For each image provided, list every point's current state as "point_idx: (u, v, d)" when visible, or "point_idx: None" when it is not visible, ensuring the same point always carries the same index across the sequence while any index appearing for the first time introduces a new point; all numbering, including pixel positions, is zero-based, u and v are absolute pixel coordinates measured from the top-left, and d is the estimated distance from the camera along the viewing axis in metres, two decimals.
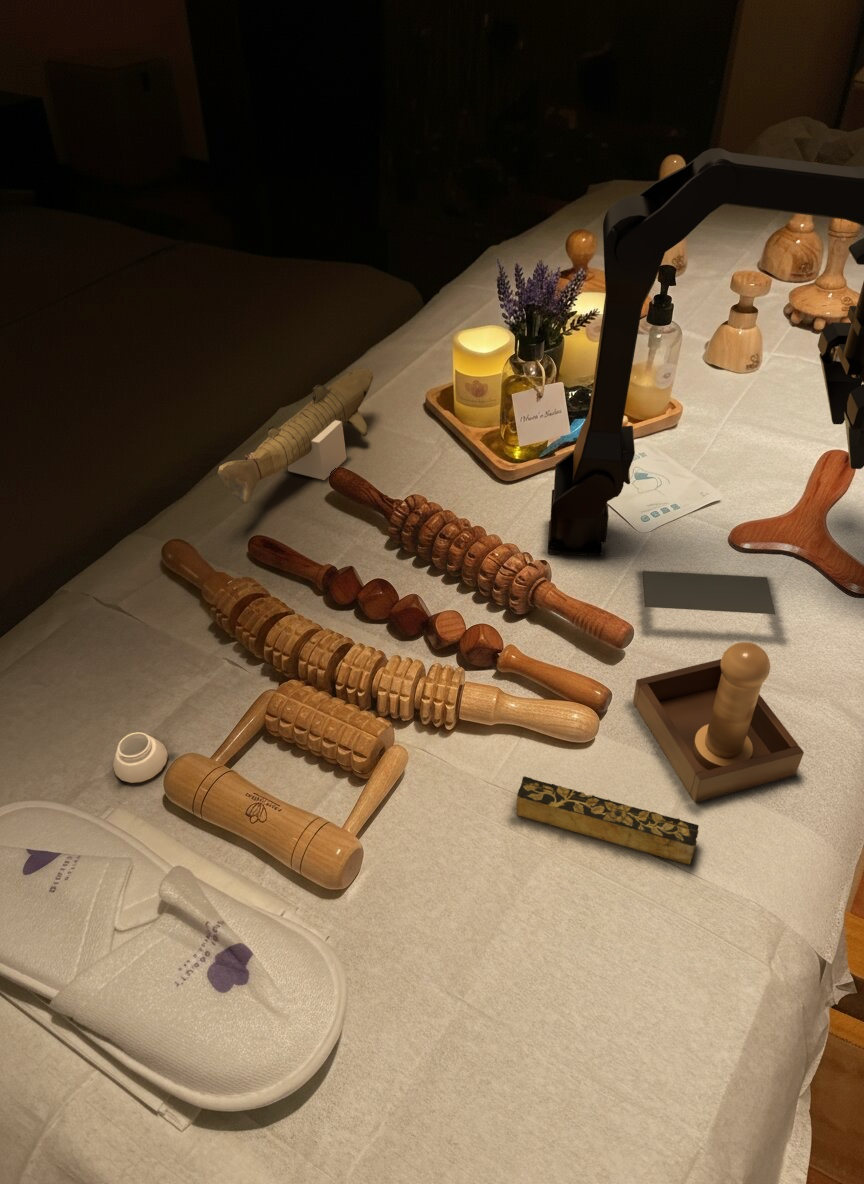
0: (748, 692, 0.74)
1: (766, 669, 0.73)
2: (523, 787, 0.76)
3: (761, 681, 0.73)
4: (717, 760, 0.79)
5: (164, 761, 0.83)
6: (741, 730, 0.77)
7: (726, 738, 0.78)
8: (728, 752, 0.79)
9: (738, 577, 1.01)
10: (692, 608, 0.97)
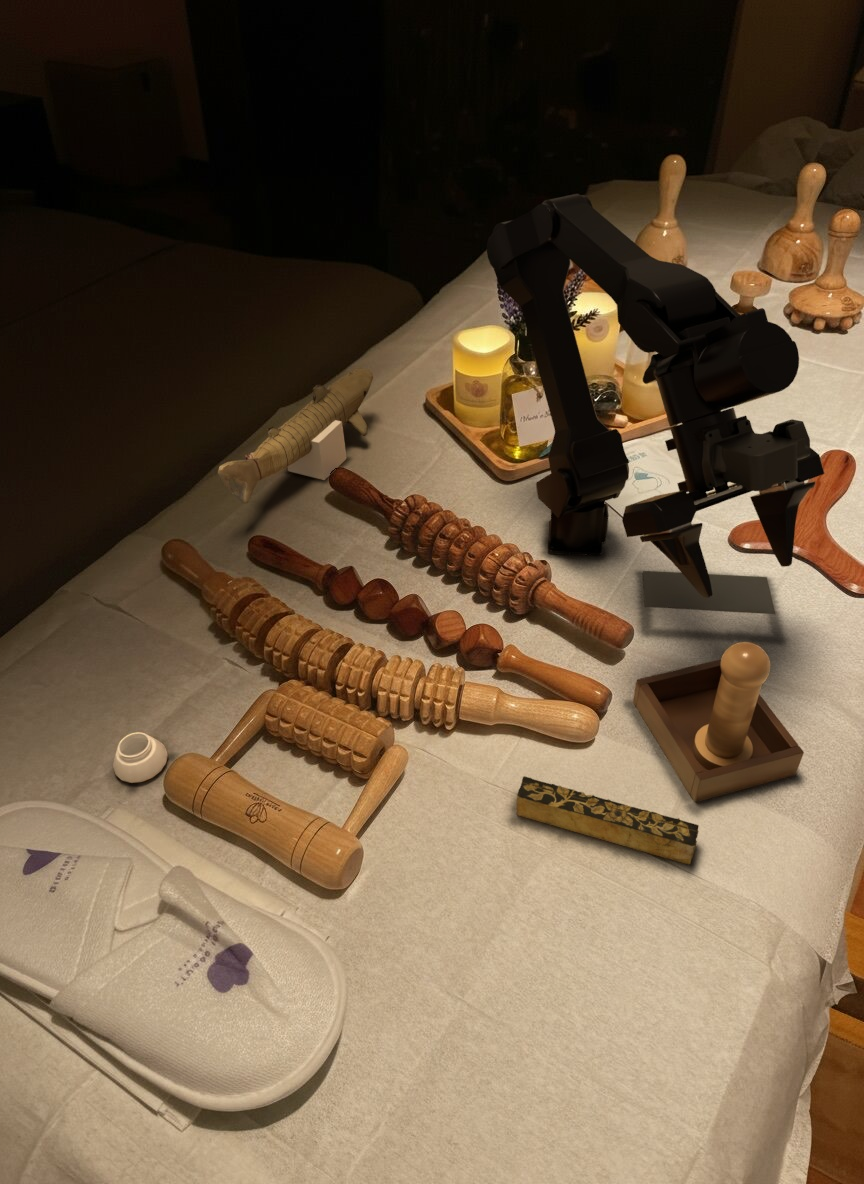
0: (748, 692, 0.74)
1: (766, 669, 0.73)
2: (523, 787, 0.76)
3: (761, 681, 0.73)
4: (717, 760, 0.79)
5: (164, 761, 0.83)
6: (741, 730, 0.77)
7: (726, 738, 0.78)
8: (728, 752, 0.79)
9: (738, 577, 1.01)
10: (692, 608, 0.97)
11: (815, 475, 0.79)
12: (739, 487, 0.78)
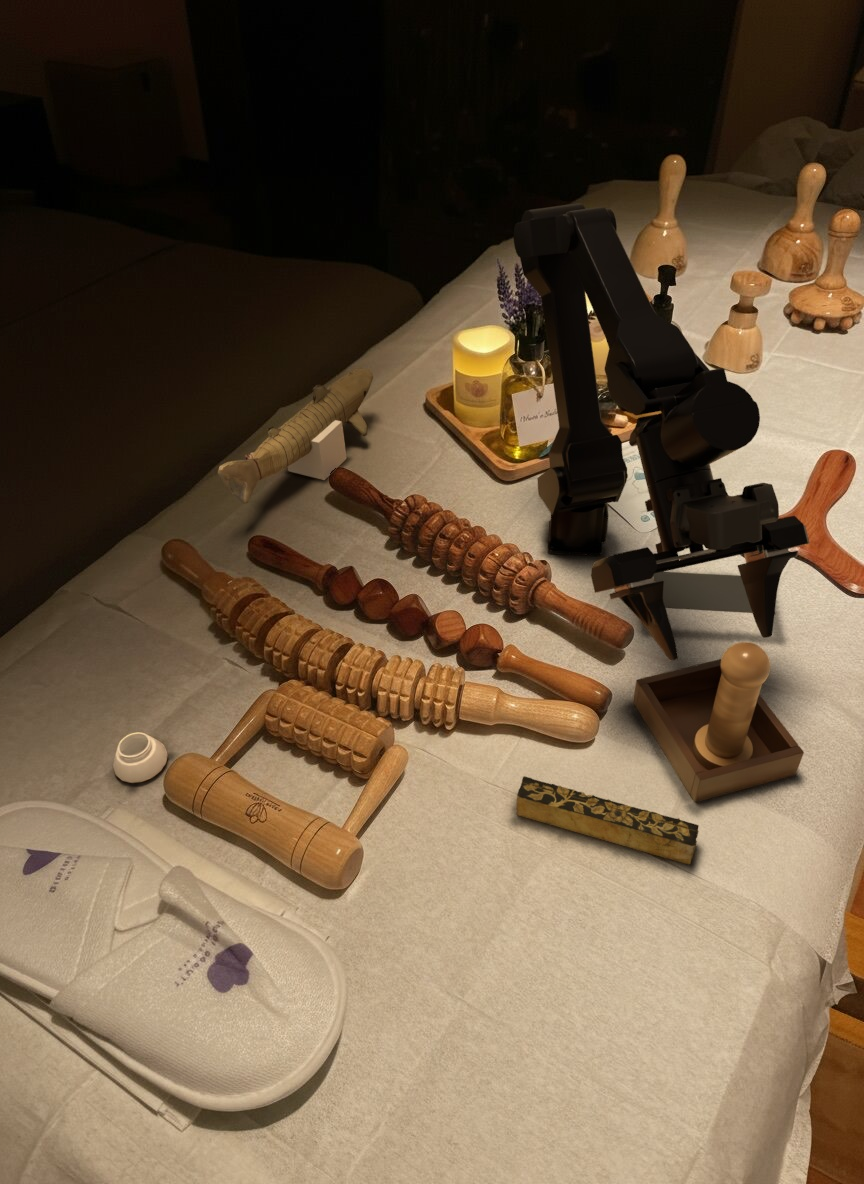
0: (748, 692, 0.74)
1: (766, 669, 0.73)
2: (523, 787, 0.76)
3: (761, 681, 0.73)
4: (717, 760, 0.79)
5: (164, 761, 0.83)
6: (741, 730, 0.77)
7: (726, 738, 0.78)
8: (728, 752, 0.79)
9: (738, 577, 1.01)
10: (692, 608, 0.97)
11: (797, 544, 0.76)
12: (712, 550, 0.76)
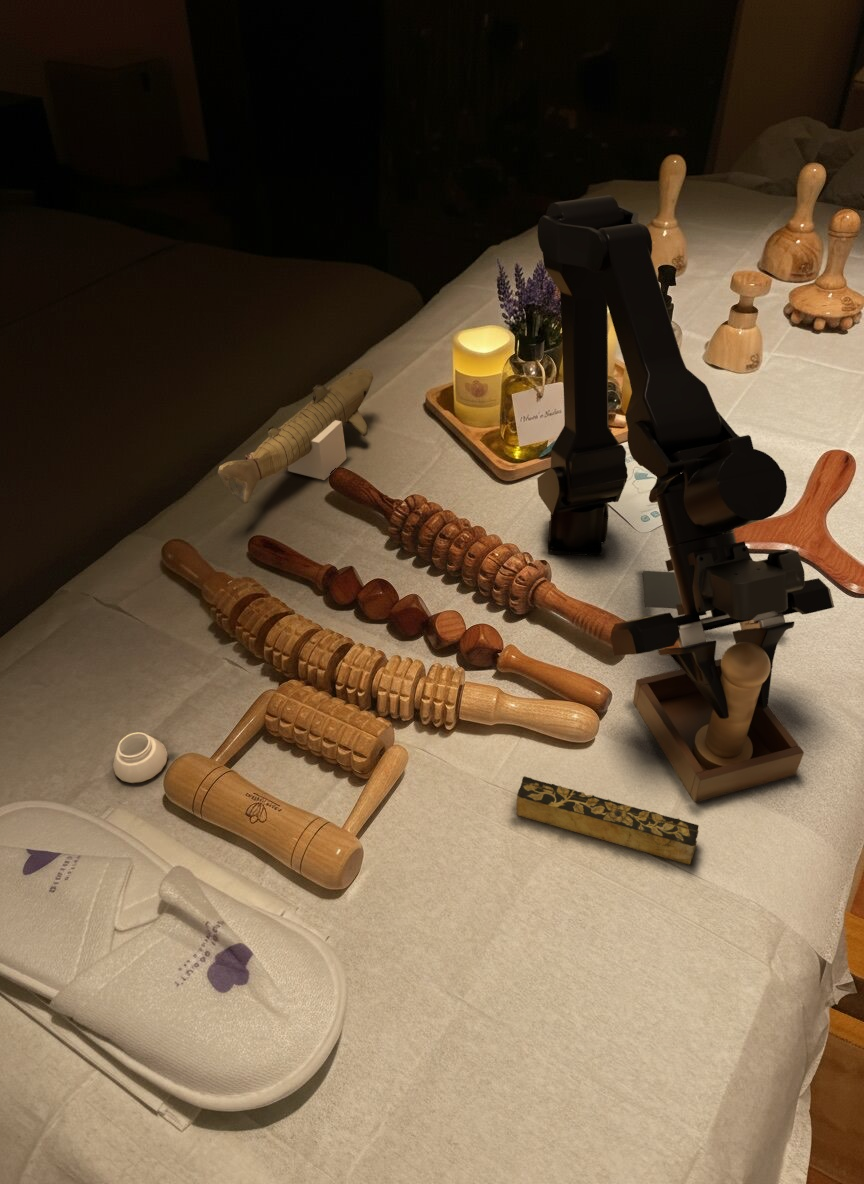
0: (748, 692, 0.74)
1: (766, 669, 0.73)
2: (523, 787, 0.76)
3: (761, 681, 0.73)
4: (717, 760, 0.79)
5: (164, 761, 0.83)
6: (741, 730, 0.77)
7: (726, 738, 0.78)
8: (728, 752, 0.79)
9: None
10: None
11: (821, 608, 0.75)
12: None
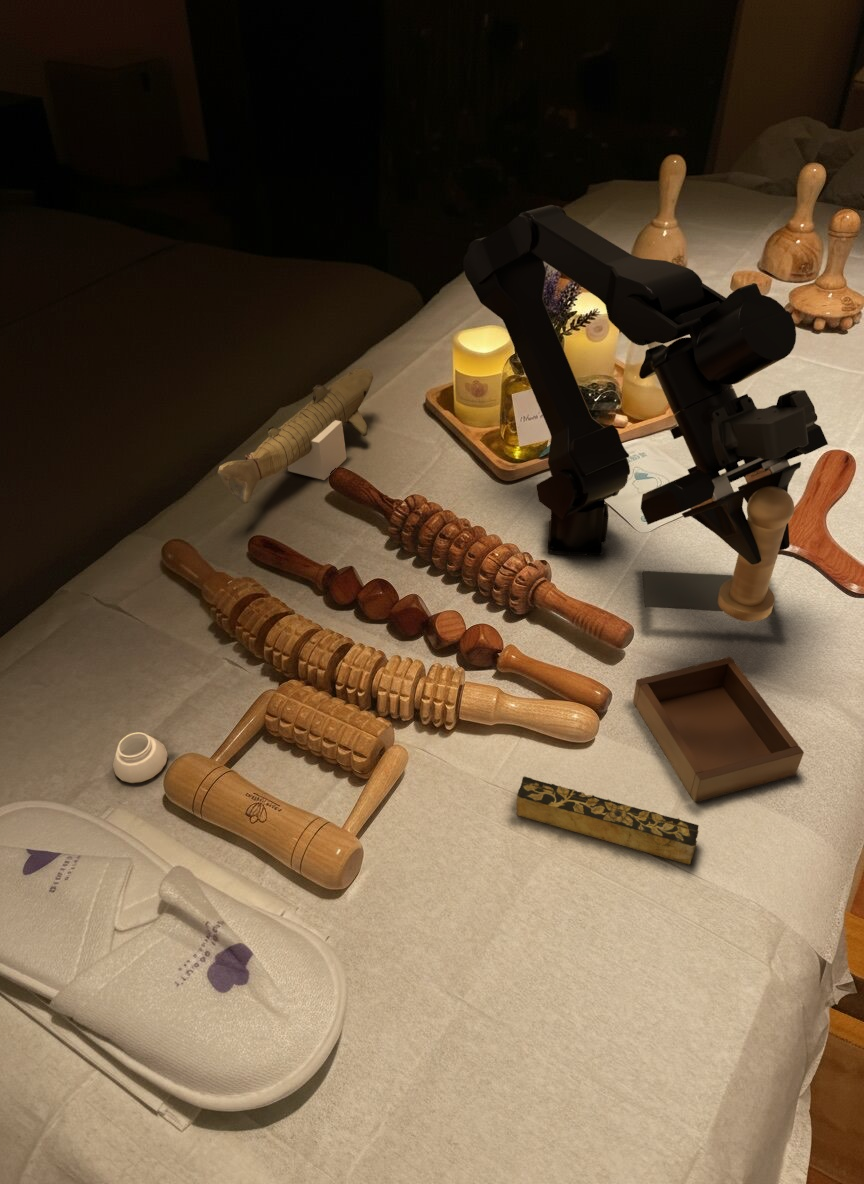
0: (778, 532, 0.78)
1: (793, 506, 0.77)
2: (523, 787, 0.76)
3: (790, 518, 0.78)
4: (748, 609, 0.84)
5: (164, 761, 0.83)
6: (769, 574, 0.82)
7: (755, 585, 0.82)
8: (757, 599, 0.84)
9: None
10: (692, 608, 0.97)
11: (820, 446, 0.81)
12: None
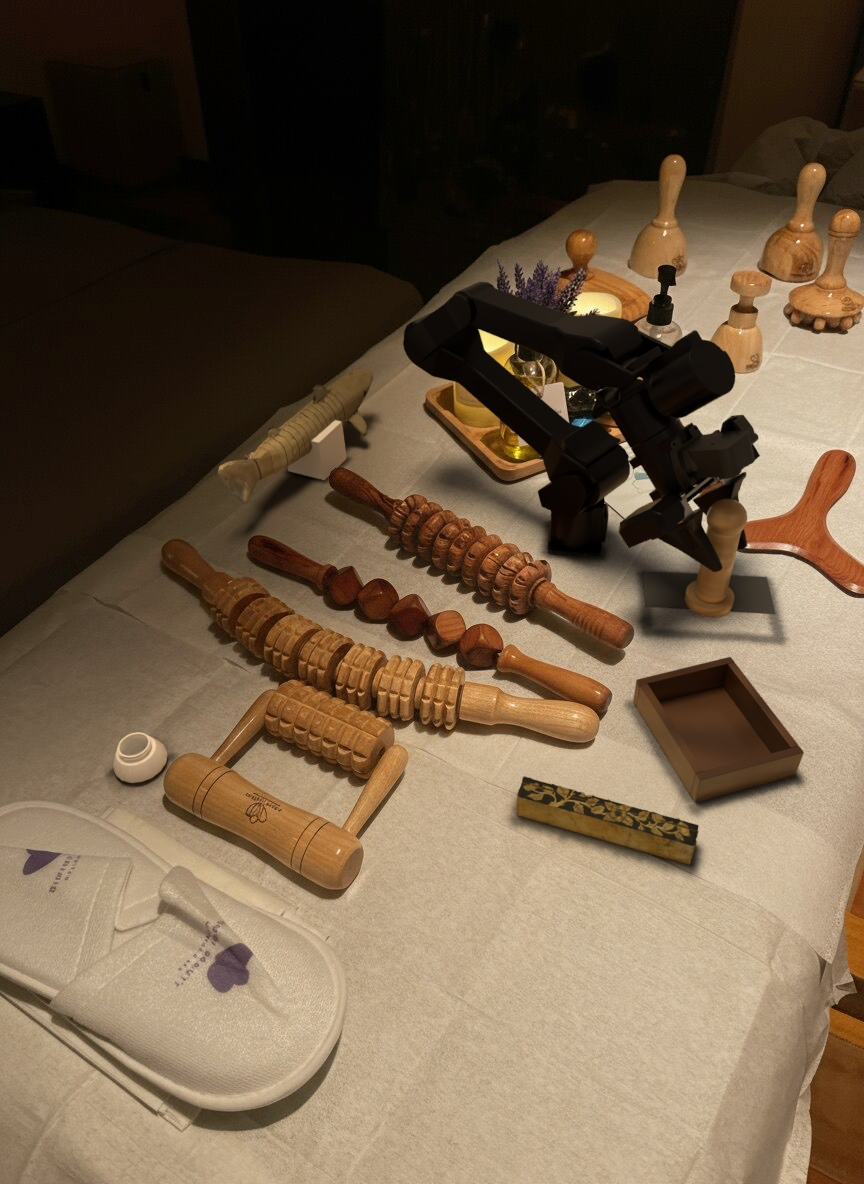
0: (736, 538, 0.90)
1: (746, 513, 0.89)
2: (523, 787, 0.76)
3: (745, 524, 0.89)
4: (715, 606, 0.95)
5: (164, 761, 0.83)
6: (730, 573, 0.93)
7: (720, 584, 0.94)
8: (721, 596, 0.95)
9: (738, 577, 1.01)
10: None
11: (754, 458, 0.93)
12: None
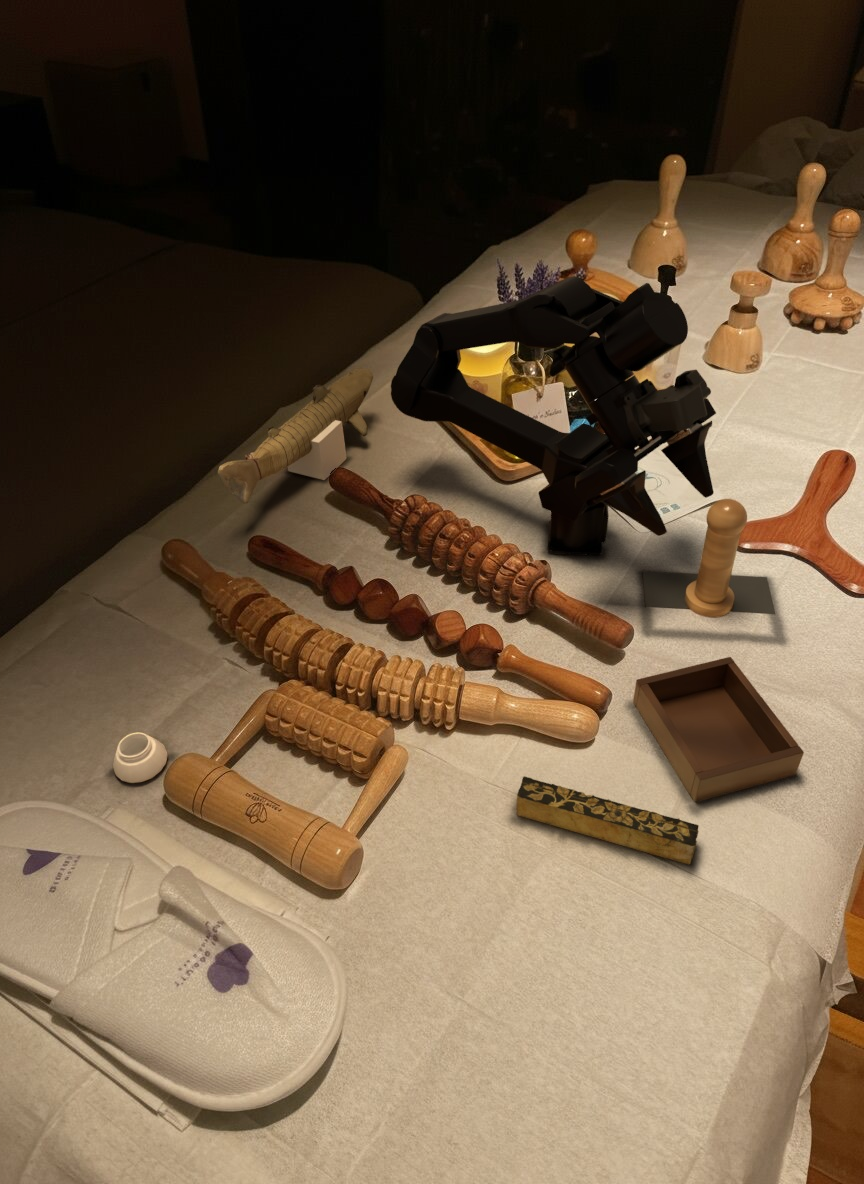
0: (736, 538, 0.90)
1: (746, 513, 0.89)
2: (523, 787, 0.76)
3: (745, 524, 0.89)
4: (715, 606, 0.95)
5: (164, 761, 0.83)
6: (730, 573, 0.93)
7: (720, 584, 0.94)
8: (721, 596, 0.95)
9: (738, 577, 1.01)
10: None
11: (710, 415, 0.94)
12: (659, 437, 0.92)
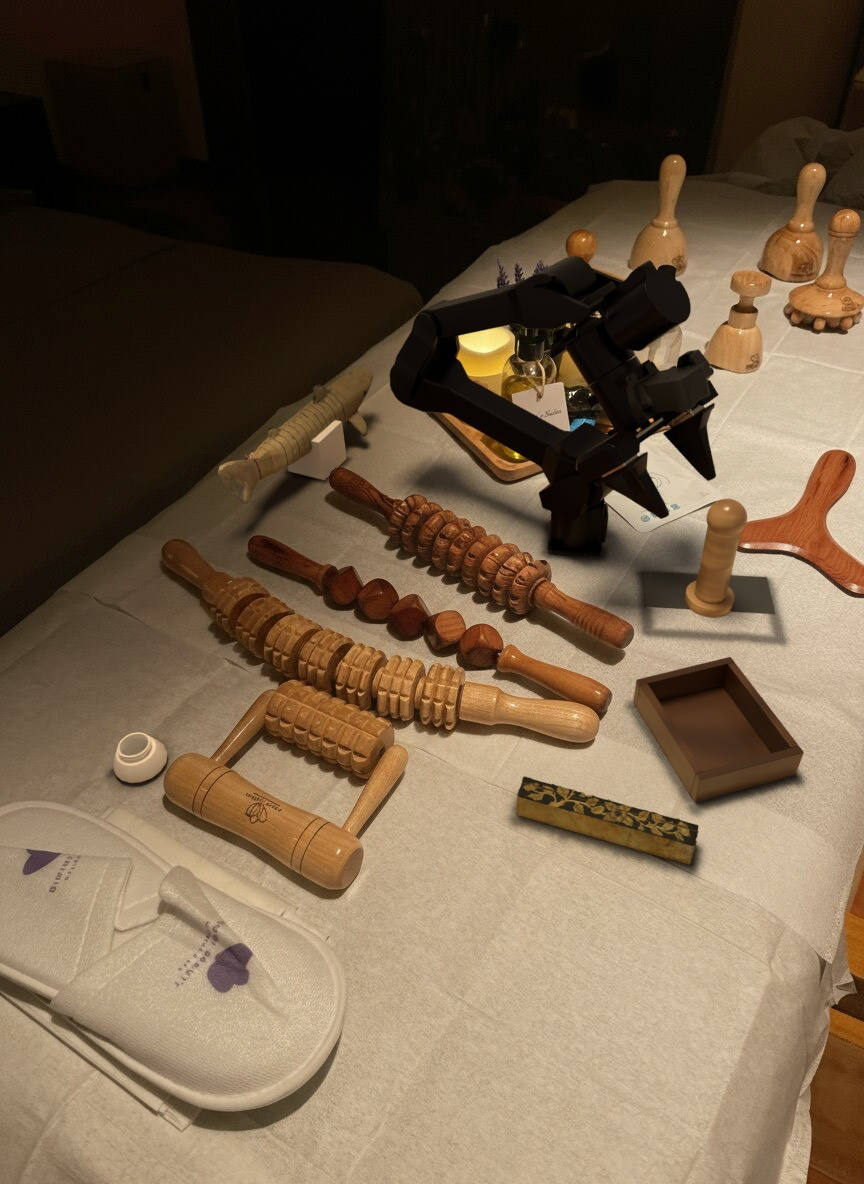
0: (736, 538, 0.90)
1: (746, 513, 0.89)
2: (523, 787, 0.76)
3: (745, 524, 0.89)
4: (715, 606, 0.95)
5: (164, 761, 0.83)
6: (730, 573, 0.93)
7: (720, 584, 0.94)
8: (721, 596, 0.95)
9: (738, 577, 1.01)
10: None
11: (713, 397, 0.93)
12: (661, 419, 0.90)
